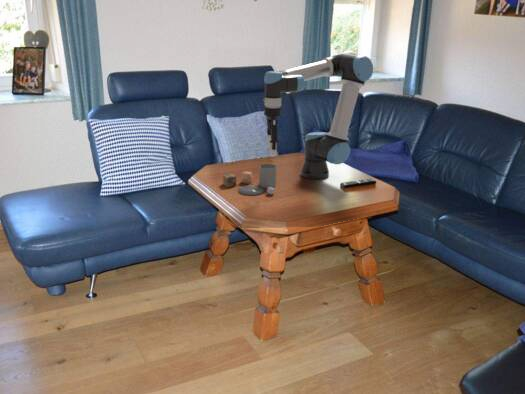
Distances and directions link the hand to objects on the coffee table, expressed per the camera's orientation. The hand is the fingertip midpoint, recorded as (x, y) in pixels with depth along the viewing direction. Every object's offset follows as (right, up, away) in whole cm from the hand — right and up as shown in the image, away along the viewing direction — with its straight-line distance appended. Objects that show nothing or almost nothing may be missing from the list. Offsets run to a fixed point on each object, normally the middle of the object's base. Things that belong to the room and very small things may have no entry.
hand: (271, 152), depth 238 cm
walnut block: (-21, -15, +19) cm, 32 cm away
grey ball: (0, -19, +7) cm, 21 cm away
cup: (-2, -15, +20) cm, 25 cm away
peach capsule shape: (-12, -13, +24) cm, 30 cm away
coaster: (-10, -18, +11) cm, 23 cm away
